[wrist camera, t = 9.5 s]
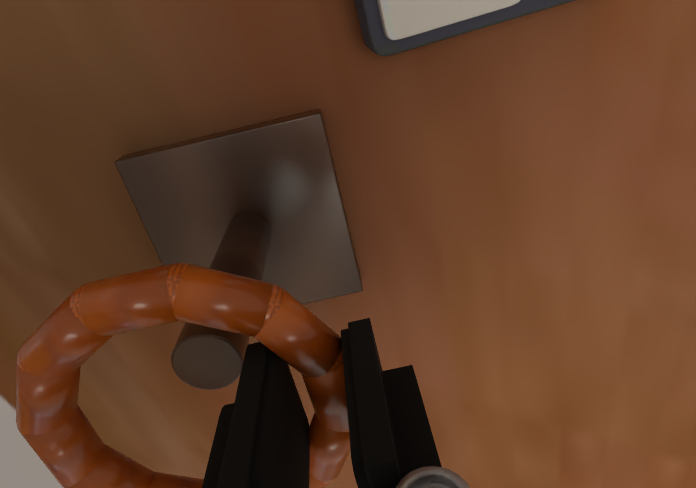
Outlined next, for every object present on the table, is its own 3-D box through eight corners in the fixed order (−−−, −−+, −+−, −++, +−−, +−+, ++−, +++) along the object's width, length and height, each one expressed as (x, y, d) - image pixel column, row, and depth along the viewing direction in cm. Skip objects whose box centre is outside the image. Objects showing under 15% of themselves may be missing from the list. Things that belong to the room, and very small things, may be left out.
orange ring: (122, 517, 13) (105, 560, 12) (-35, 300, 10) (-78, 334, 9) (382, 466, 13) (388, 506, 12) (316, 222, 10) (316, 247, 8)
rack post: (196, 317, 24) (123, 494, 15) (122, 155, 20) (-39, 262, 11) (361, 281, 23) (390, 439, 14) (320, 108, 19) (324, 179, 10)
